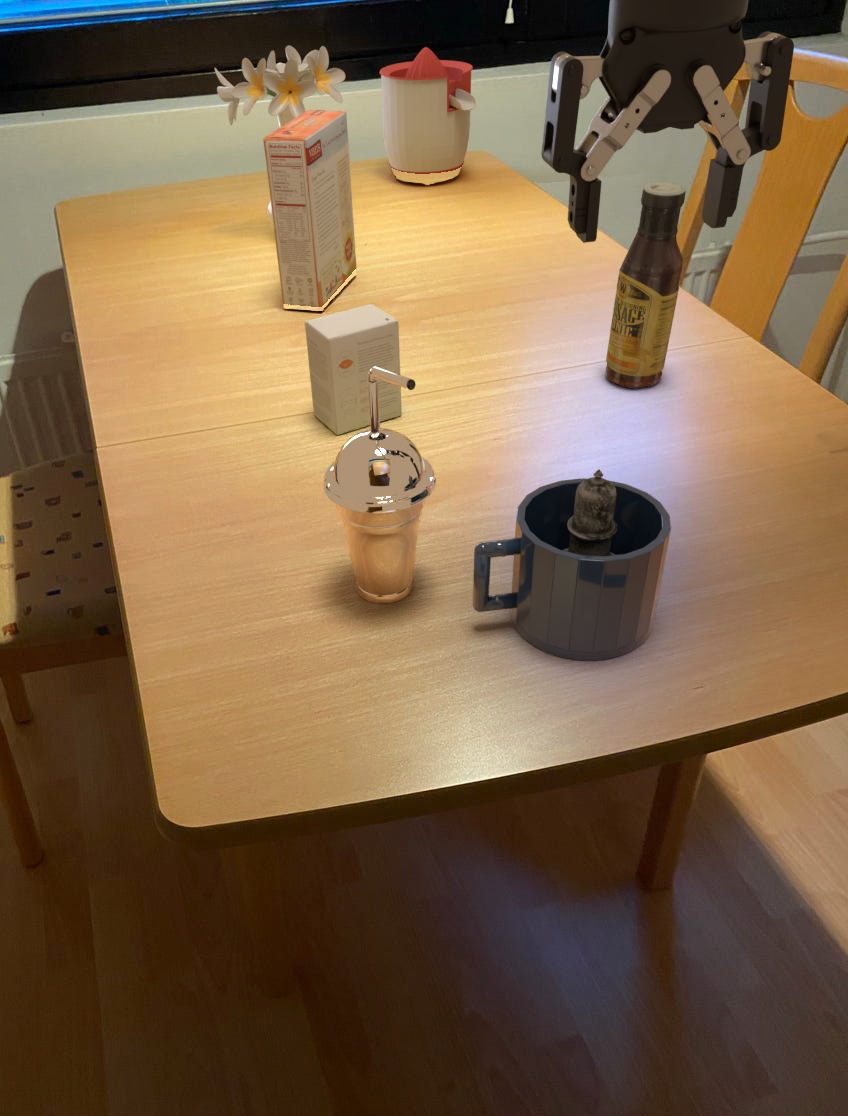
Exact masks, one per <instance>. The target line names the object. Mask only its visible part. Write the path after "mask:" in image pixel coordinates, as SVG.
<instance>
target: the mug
mask: <svg viewBox="0 0 848 1116" xmlns="http://www.w3.org/2000/svg"><path fill="white" fill-rule="evenodd" d="M585 479H587V478H585V477H584V478H583V477H582V478H581V477H580V478H573V479H564V480H563V479H562V480H558V481H554V482H551V483H548V484H545V485H541V486H539V487H538V488H536V489H534V490H533V491H531V492H529V493H528V494H526V495H525V497H524V498H523V499H522V501H520V503H519V505H517V508H516V509H517V510H516V517H515V532H514V538H503V539H496V540H495V539H494V540H488V541H480V542H478V543H477V544H475V546H474V550H473V578H472V579H473V581H472V582H473V584H472V587H473V588H472V607H473V609H474V611H476V612H477V613H487V612H493V611H502V610H510V618H511V622H512V624H513V626H514V628H515V630H516V631H517V633H518V634H519V635H520V636H521V637H522V638H523V639H524V640H525V641H527V642H528V643H529V644H530V645H532V646H533V647H535V648H537V649H539V650H541V651H543V652H545V653H547V654H550V655H553V656H555V657H556V656H557V657H560V658H564V659H570V660H576V661H603V660H610V659H614V658H618V657H620V656H623V655H626V654H629V653H630V652H632V651H634V650H636V649H637V648H639V646H641V645H642V644H643V643H644V642H645V641H646V640H647V639H648V637H649V635H650V634H651V631H652V629H653V628H652V627H653V623H654V620H655V617H656V611H657V606H658V601H659V595H660V590H661V585H662V581H663V580H662V579H663V574H664V569H665V563H666V557H667V552H668V547H669V541H670V536H671V532H672V531H671V530H672V526H671V516H670V514H669V513H668V511H667V509H666V508H665V507H664V505H663V504H662V502H660V501H659V500H658V499H657V498H655V497H654V496H653V495H651V494H649V493H648V492H646V491H644V490H642V489H640V488H636V487H634V486H632V485H629V484H627V483H623V482H618V481H614V480H609V479H607V480H608V481H610V482H611V483H612V484H613V485H614V487H615V488H616V502H615V509H614V516H613V520H614V521H615V522H616V524H617V531H616V533H615V534H614V536H612V539H611V546H610V552H611V553H613V554H615V555H612V556H589V555H579V554H575V553H571V552H567V551H563V550H564V549H567V548H569V543H570V534H571V532H570V531H569V530H568V527H567V523H568V520H569V519H570V518H571V517H572V516H574V506H575V497H576V490H577V488H578V485H579V484H580V483H581V482H582V481H584V480H585ZM511 556H513V563H512V578H511V579H512V582H511V592H504V593H496V594H490V584H491V583H490V581H491V560H492V559H493V558H501V557H511Z"/></svg>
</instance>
